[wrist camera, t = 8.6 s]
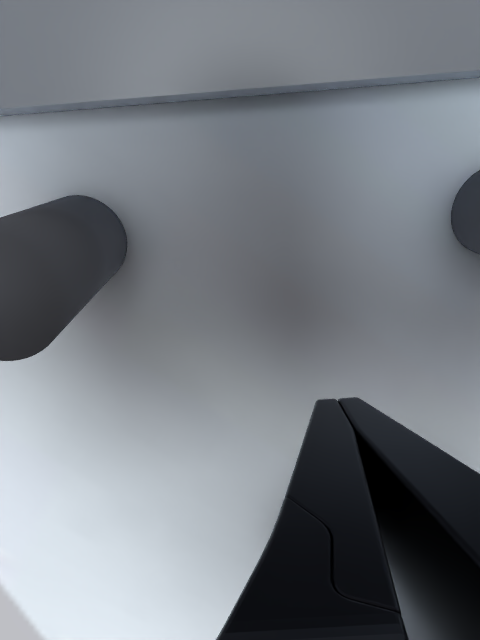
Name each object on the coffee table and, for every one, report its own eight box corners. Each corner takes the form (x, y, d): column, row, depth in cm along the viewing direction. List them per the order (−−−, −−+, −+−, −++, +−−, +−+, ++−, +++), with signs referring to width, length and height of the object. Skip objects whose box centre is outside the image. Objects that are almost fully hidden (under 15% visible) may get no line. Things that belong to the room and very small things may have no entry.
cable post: (133, 279, 16) (76, 356, 10) (49, 286, 16) (-53, 365, 10) (118, 191, 14) (45, 222, 9) (27, 198, 15) (-101, 234, 9)
